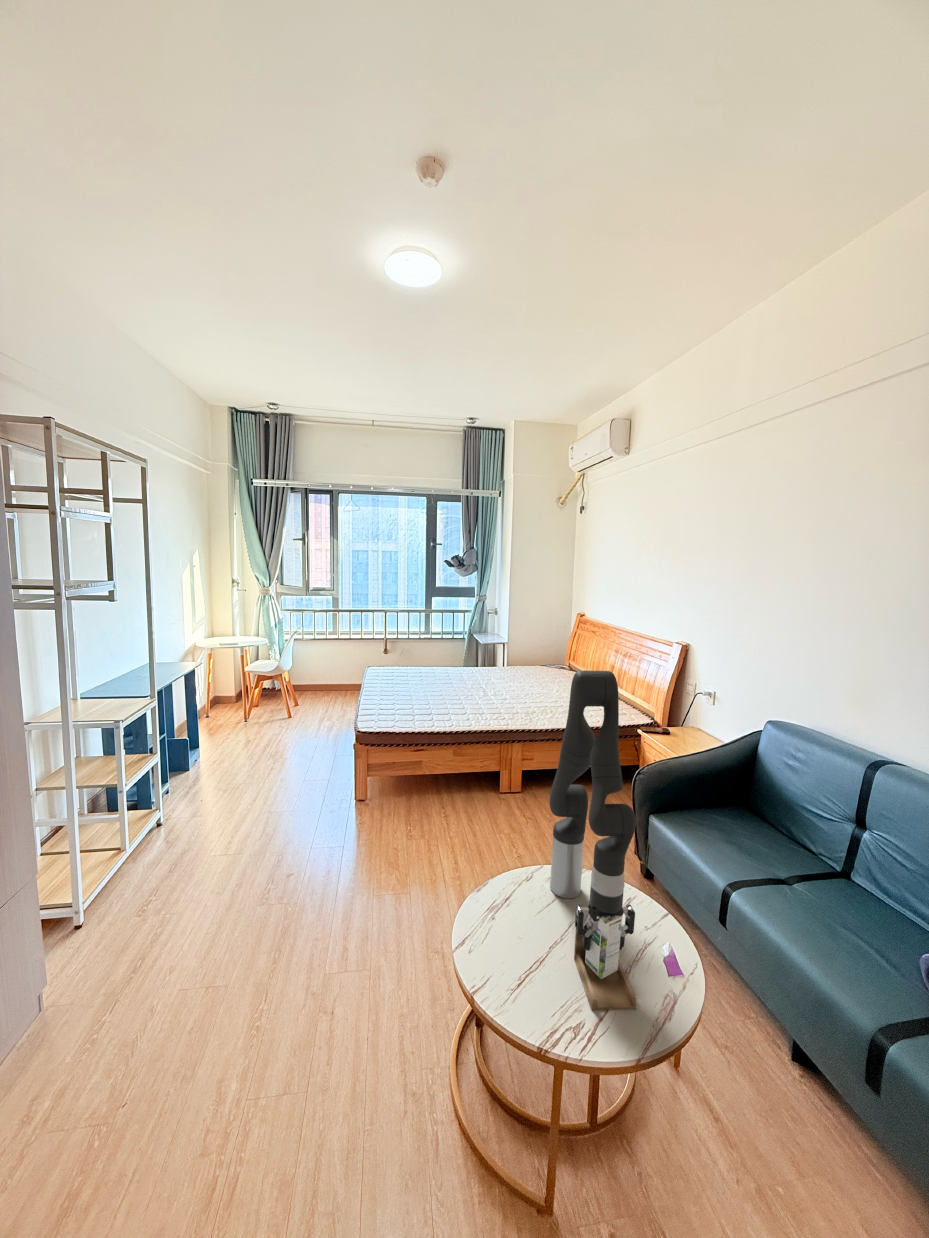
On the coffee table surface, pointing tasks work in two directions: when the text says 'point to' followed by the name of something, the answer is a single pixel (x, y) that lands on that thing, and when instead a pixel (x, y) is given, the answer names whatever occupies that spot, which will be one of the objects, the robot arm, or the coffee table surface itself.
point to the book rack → (603, 984)
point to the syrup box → (604, 946)
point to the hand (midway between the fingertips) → (602, 947)
